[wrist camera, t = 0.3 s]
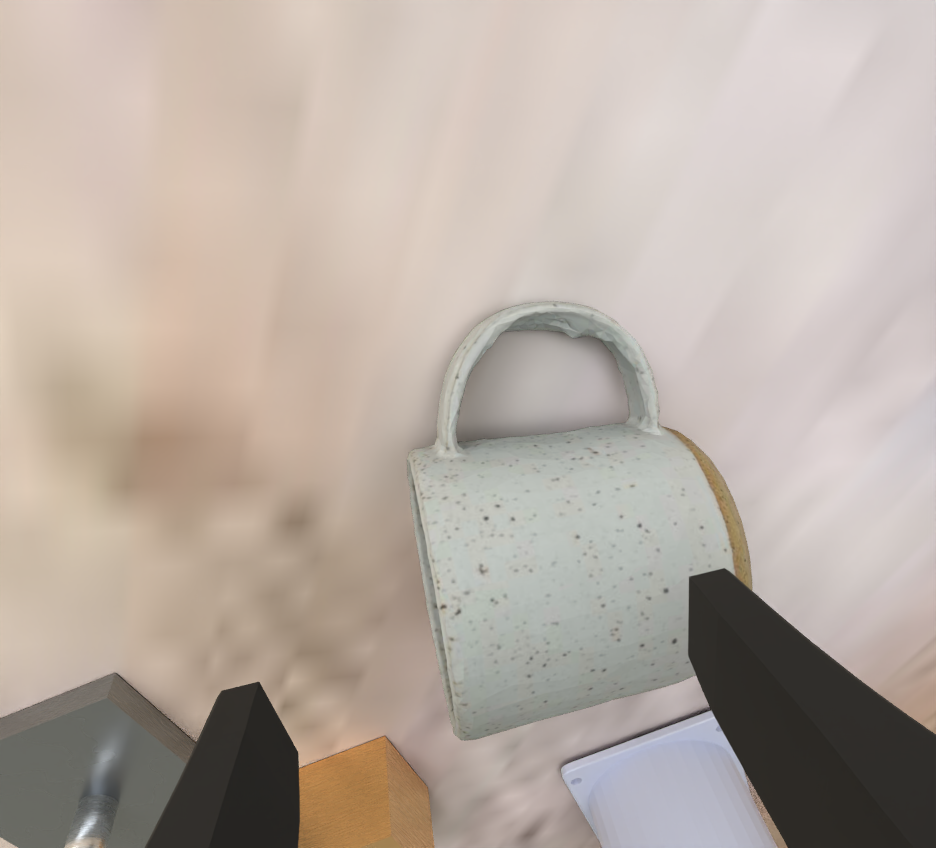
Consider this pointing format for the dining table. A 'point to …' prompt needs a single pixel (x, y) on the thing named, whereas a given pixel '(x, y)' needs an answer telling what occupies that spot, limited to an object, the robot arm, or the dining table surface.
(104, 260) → the dining table surface
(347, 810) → the wooden block with hole
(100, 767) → the flat gray rectangular block
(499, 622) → the ceramic mug
